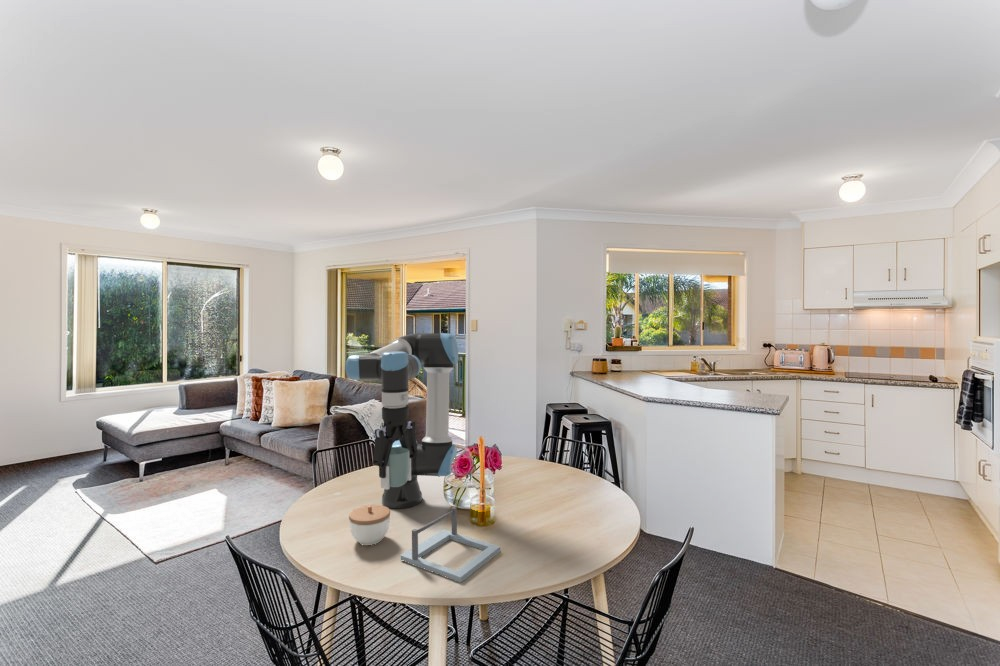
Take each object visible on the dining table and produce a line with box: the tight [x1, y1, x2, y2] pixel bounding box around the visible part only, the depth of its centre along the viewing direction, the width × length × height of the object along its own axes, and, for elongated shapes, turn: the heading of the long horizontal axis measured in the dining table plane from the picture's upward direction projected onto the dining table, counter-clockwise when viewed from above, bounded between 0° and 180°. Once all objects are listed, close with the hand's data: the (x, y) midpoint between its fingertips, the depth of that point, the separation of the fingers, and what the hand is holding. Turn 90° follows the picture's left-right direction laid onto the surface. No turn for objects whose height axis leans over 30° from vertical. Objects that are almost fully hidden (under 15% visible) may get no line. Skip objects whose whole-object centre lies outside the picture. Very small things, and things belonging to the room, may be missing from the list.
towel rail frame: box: [399, 506, 501, 583], centre depth 144 cm, size 22×20×10 cm
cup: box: [387, 447, 410, 487], centre depth 140 cm, size 8×8×10 cm
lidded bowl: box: [348, 504, 391, 546], centre depth 154 cm, size 13×13×11 cm
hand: (396, 483), depth 140 cm, fingers closed on cup, 8 cm apart
